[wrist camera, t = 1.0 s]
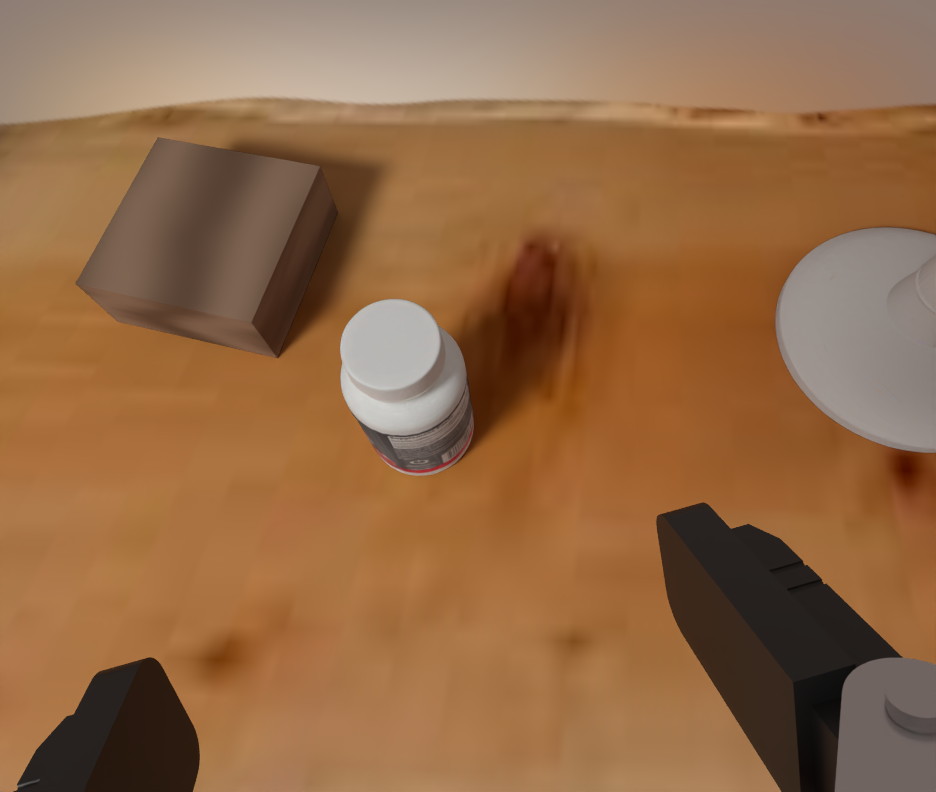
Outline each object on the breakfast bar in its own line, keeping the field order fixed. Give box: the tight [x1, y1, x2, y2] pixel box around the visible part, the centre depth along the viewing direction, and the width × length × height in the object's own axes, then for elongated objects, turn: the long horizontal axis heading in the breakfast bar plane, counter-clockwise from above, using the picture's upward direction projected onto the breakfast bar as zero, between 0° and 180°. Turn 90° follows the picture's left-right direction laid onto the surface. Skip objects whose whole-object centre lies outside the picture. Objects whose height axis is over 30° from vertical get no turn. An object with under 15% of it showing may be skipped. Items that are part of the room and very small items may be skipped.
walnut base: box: [76, 137, 338, 358], centre depth 38 cm, size 10×10×4 cm
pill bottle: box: [340, 299, 474, 476], centre depth 30 cm, size 5×5×10 cm
